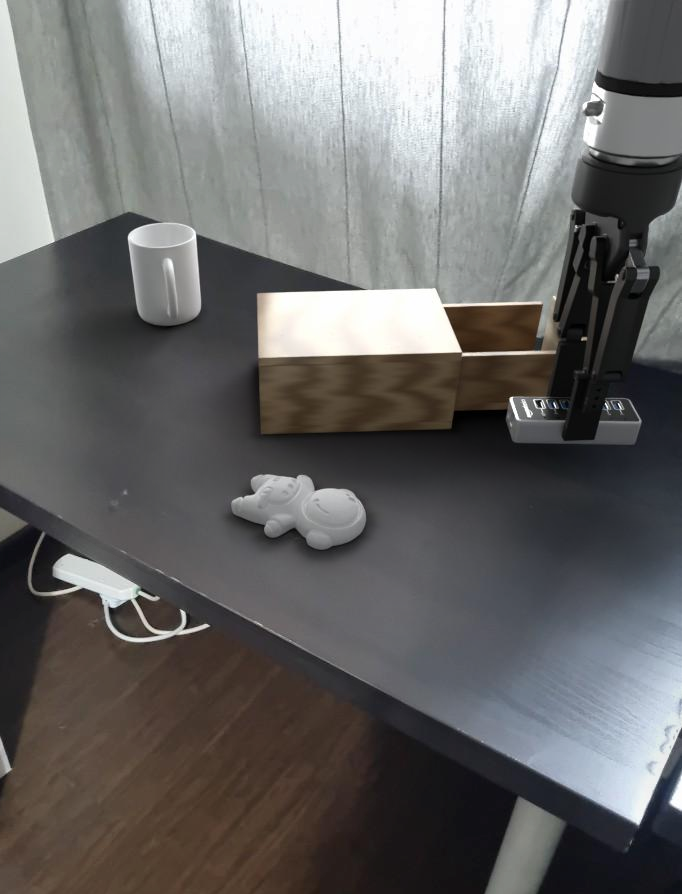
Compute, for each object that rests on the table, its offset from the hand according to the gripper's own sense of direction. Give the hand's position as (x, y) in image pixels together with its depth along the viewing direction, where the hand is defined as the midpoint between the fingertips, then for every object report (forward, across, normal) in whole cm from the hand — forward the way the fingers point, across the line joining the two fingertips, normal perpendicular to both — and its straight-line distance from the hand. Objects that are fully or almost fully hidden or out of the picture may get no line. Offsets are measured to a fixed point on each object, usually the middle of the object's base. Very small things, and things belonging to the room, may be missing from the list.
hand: (568, 421), depth 75 cm
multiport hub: (+1, 0, 0) cm, 1 cm away
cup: (+6, -36, -39) cm, 54 cm away
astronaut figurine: (+6, +5, -25) cm, 26 cm away
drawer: (+5, -16, -3) cm, 17 cm away
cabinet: (+6, -16, -18) cm, 25 cm away
